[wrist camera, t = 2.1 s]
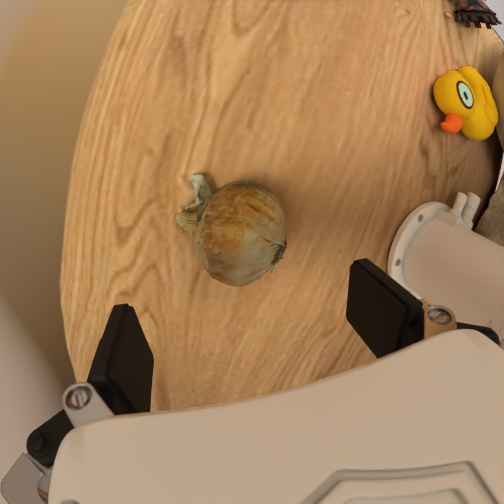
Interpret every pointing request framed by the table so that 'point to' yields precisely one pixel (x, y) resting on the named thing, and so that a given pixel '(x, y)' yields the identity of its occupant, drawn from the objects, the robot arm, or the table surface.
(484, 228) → the stone tool
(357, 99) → the table surface
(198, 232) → the onion
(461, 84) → the duckling
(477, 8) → the figurine
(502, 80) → the sphere
